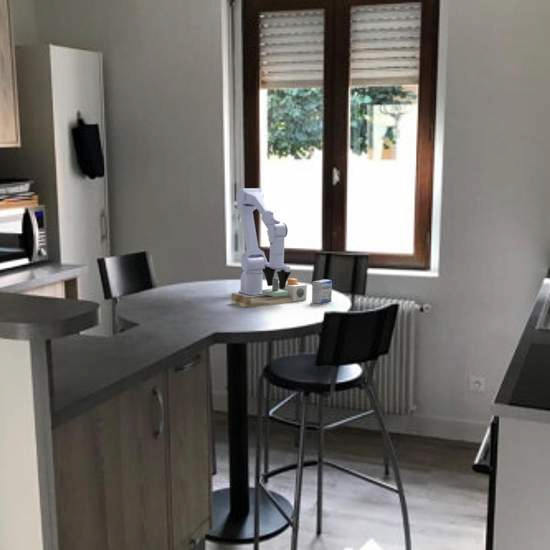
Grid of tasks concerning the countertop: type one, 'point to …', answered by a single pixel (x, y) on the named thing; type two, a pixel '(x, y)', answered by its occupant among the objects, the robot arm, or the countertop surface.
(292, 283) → the button
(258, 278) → the robot arm
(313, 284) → the medicine box
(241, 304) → the rail track
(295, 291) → the end cabinet
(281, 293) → the carriage
